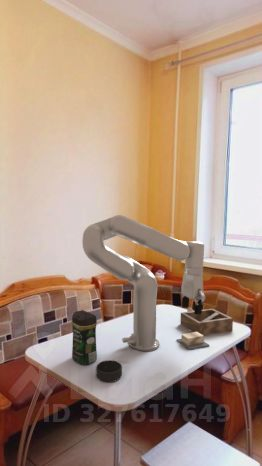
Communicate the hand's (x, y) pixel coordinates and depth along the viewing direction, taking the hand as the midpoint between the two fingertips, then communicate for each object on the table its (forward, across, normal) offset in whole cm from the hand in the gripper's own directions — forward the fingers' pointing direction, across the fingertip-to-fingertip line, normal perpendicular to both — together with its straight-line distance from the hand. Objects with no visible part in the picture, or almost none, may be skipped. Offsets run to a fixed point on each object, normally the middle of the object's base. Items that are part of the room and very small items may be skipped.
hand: (191, 310), depth 139 cm
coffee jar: (+17, -2, -46) cm, 49 cm away
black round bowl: (+16, +13, -41) cm, 46 cm away
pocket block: (+14, -14, +18) cm, 27 cm away
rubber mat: (+14, 0, +1) cm, 15 cm away
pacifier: (+15, -27, +16) cm, 34 cm away
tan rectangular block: (+14, 0, +2) cm, 14 cm away
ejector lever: (+11, -14, +18) cm, 25 cm away
